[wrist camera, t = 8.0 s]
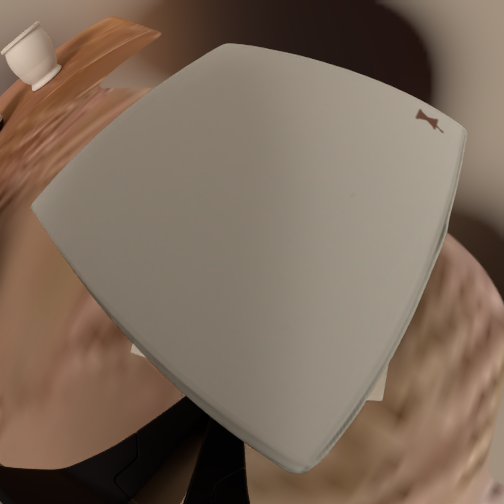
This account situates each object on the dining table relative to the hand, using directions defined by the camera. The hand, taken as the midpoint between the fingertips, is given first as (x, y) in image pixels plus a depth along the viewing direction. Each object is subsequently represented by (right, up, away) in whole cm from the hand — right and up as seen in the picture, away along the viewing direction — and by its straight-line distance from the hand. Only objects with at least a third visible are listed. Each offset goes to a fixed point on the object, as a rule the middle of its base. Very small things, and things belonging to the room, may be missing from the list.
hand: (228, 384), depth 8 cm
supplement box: (+2, +1, +8) cm, 8 cm away
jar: (-45, +43, +33) cm, 70 cm away
